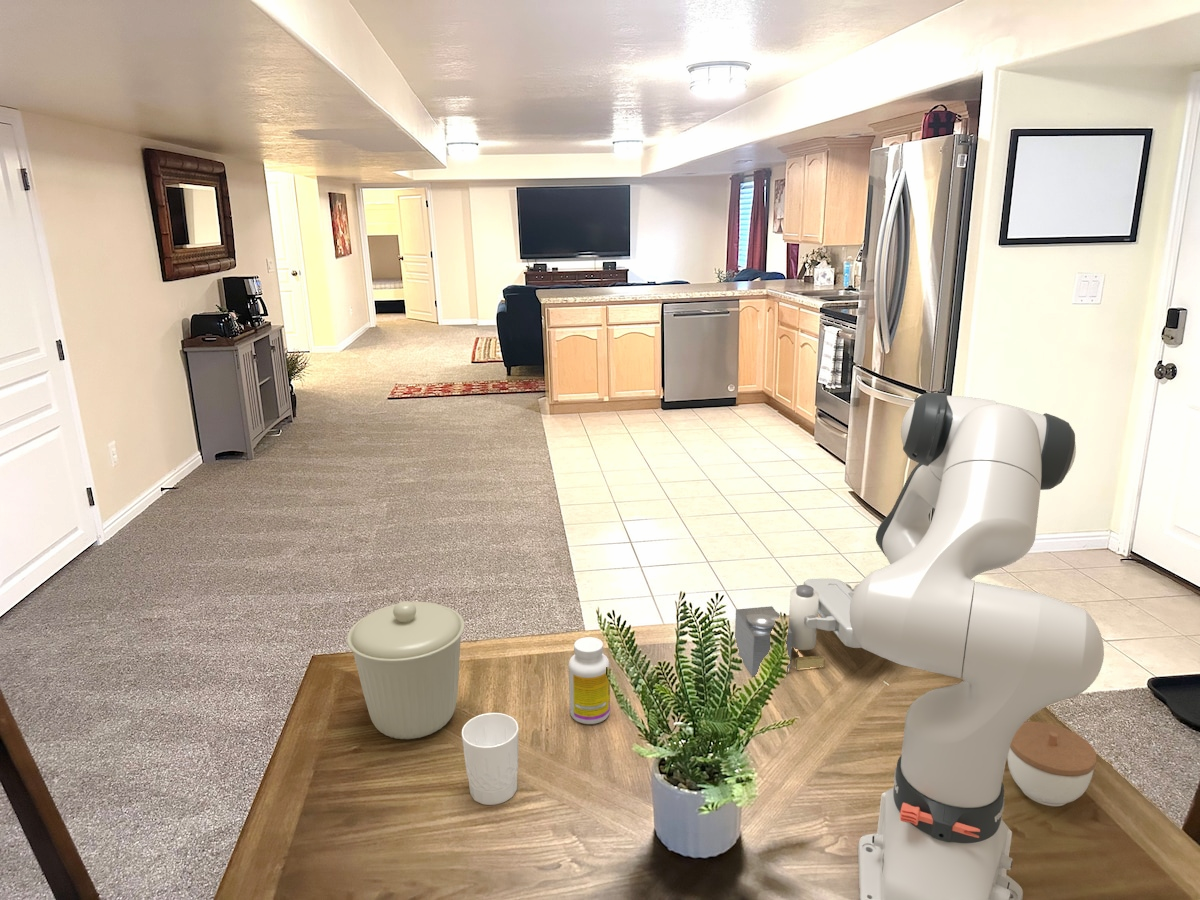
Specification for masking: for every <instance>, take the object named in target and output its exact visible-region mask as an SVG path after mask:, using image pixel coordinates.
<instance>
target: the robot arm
mask: <svg viewBox="0 0 1200 900" xmlns="http://www.w3.org/2000/svg"><path fill="white" fill-rule="evenodd" d="M900 437H901V443H902V451H903V452H904V453H905V455H906V456H907V458H908V459H910V460H912V461H913V462H915V463H917V465H915V467H914V468H913V469H912V470H911V472H910V473H909V476H908V477H907V479H906V481H905V483H904V485H903V486H902V489H901V492H900V493H899V495H898V497H897V499H896V501H895V503H894V504H893V508H891V510H890V512H889V513H888V515H886V517H885V518H884V519H883V520H882V521H881V523H880V524H879V527H878V529H876V533H875V542H876V544H877V546H878V548H879V549H880V550H881V552H882V553H883V555H884V557H886V559H887V561H888V562H889V565H887V566H883V567H880V568H879V569H875V570H873V571H872V572H870V573H869V574H867V576H865V577H864V578H863V579H862V580H861V581H860V583H857V584H855V586H853V588H852V586H851V585H850V584H847V583H845V582H843V581H842V580H841V579H836V578H808V579H806V580H804V581H803V584H802V585H808V586H811V587H812V588H813V589H814V590H815V591H817V592H818V593H819V603H818V615H819V617H815V616H814V615H812V616H805V618H804V624H805V625H806V627H807V628H808V629H812V628H817V629H818V630H823V631H826V632H831V631H832V632H833V633H834V634H835V636H836V637H837V638H838V639H839V640H840V641H841V643H843V645H844V646H846V647H849V648H853V649H858V648H862V649H863V650H865V651H868V652H870V653H872V654H874V655H876V656H878V657H880V658H883V659H885V660H888V661H890V662H893V663H895V664H898V665H900V666H904V667H908V668H912V669H917V670H922V671H927V672H932V673H935V674H939V675H943V676H948V677H951V678H957V679H961V680H962V681H961V682H958V683H955V684H953V685H947V686H942V687H938V688H934V689H930V690H929V691H926V692H925V693H923V694H921V696H918V698H916V699H915V700H914V701H913V702H912V703H911V704H910V705H909V707H908V709H907V711H906V714H905V719H904V729H903V730H904V731H903V739H902V750H901V754H900V756H899V757H898V758H897V759H898V760H897V762H896V766H895V770H894V774H893V787H891V788H890V789H888V790H885V791H884V792H882V793H881V796H880V803H879V805H880V806H879V811H878V812H879V814H878V822H877V830H876V833H869V834H864V835H862V836H861V837H860V838H859V842H858V846H857V849H858V850H857V852H858V853H857V855H858V856H857V857H858V882H859V884H858V885H859V886H858V887H859V888H860V894H859V900H1023V899H1024V898H1023V897H1024V895H1023V894H1024V891H1023V888H1022V886H1020V884H1019V883H1018V882H1017V881H1015V880H1014V879H1013V878H1012V877H1010V876H1009V875H1007V871H1011V869H1012V866H1013V857H1010V849H1011V843H1012V836H1013V831H1012V830H1011V829H1010V827H1009V826H1008V825H1007V824H1006V823H1005V821H1004V820H1003V818H1002V815H1003V813H1004V808H1005V801H1006V800H1005V786H1004V782H1003V779H1004V773H1005V769H1006V763H1007V761H1008V759H1007V756H1008V752H1009V749H1010V745H1011V743H1012V740H1013V738H1014V736H1015V734H1016V732H1017V731H1018V729H1019V728H1020V727H1021V726H1022V724H1023V723H1024V722H1027V721H1028V720H1029V719H1030V718H1031V717H1032V716H1034V715H1035V714H1036V713H1038V712H1039V711H1041V710H1043V709H1045V708H1047V707H1048V706H1051V705H1054V704H1055V703H1057V702H1061V701H1065V700H1069V699H1072V698H1075V697H1077V696H1079V695H1080V694H1082V693H1083V692H1085V691H1086V690H1087V689H1088V688H1089V687H1091V686H1092V684H1093V683H1094V682H1095V681H1096V679H1097V677H1098V676H1099V674H1100V672H1101V670H1102V666H1103V663H1104V657H1105V655H1104V654H1105V650H1104V649H1105V646H1104V642H1103V637H1102V634H1101V631H1100V628H1099V627H1098V625H1097V623H1096V622H1095V620H1094V619H1093V617H1092V616H1091V614H1089V613H1088V611H1087V610H1086V609H1085V608H1082V607H1079V606H1077V605H1075V604H1072V603H1069V602H1066V601H1064V600H1060V599H1058V598H1055V597H1052V596H1051V595H1046V594H1043V593H1041V592H1036V591H1029V590H1024V589H1018V588H1013V587H1008V586H1001V585H996V584H995V585H994V584H991V583H984V582H981V581H980V582H979V581H975V580H973V578H976V576H979V575H980V574H982V573H985V572H989V571H992V570H993V571H994V570H998V569H1000V568H1005V567H1007V566H1010V565H1011V564H1014V563H1016V562H1017V561H1019V560H1020V559H1022V558H1023V557H1024V556H1026V555H1027V553H1029V552H1030V550H1032V547H1033V546H1034V542H1035V541H1036V533H1037V526H1038V525H1037V524H1038V518H1039V517H1038V514H1039V507H1040V500H1041V499H1040V497H1041V491H1044V490H1045V491H1046V490H1047V491H1048V490H1052V489H1054V488H1055V487H1057V486H1058V485H1060V484H1061V483H1062V482H1063V481H1064V480H1065V478H1066V476H1067V475H1068V473H1069V472H1070V471H1071V469H1072V467H1073V465H1074V462H1075V458H1076V453H1077V446H1076V434H1075V430H1074V429H1073V427H1072V426H1071V425H1070V423H1069V422H1068V421H1066V420H1065V419H1062V418H1060V417H1058V416H1055V415H1052V414H1049V413H1046V412H1045V413H1044V414H1041V413H1038V412H1036V411H1032V410H1029V409H1025V408H1023V407H1022V408H1021V407H1018V406H1014V405H1010V404H1005V403H1001V402H997V401H996V400H993V399H986V398H977V397H971V396H970V397H969V396H960V395H947V392H927V393H922V394H921V395H920V396H918V397H916V398H915V399H914V402H913V403H912V404H911V405H910V406H909V408H908V409H907V411H906V412H905V414H904V416H903V419H902V422H901V428H900ZM932 509H934V512H933V515H932V519H931V521H930V519H929V517H930V515H929V514H930V513H931V511H932Z"/></svg>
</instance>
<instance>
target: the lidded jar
mask: <svg viewBox="0 0 1200 900" xmlns="http://www.w3.org/2000/svg"><path fill="white" fill-rule="evenodd" d="M1097 760H1098V756H1097V752H1096V750H1095V749H1094V747H1093V746H1092V745H1091V744H1090V743H1089V742H1088V740H1086V739H1085V738H1083V736H1080V735H1079V734H1078V733H1077V732H1074V731H1072V730H1071V729H1068V728H1065V727H1063V726H1059V725H1057V724H1053V723H1049V722H1042V721H1025V722H1024V723H1023V724H1022V726H1021V727H1020V728H1019V729H1018V731H1017V732H1016V734H1015V736H1014V738H1013V740H1012V743H1011V745H1010V749H1009V752H1008V756H1007V765H1008V770H1009V773H1010V775H1011V778H1012V779H1013V781H1014V782H1015V784H1016V785H1017V786H1018V787H1019V788H1020V790H1021V792H1022V793H1023V794H1024V796H1025V797H1027V798H1029V799H1030V800H1031V801H1034V802H1035V803H1038V804H1040V805H1043V806H1048V807H1062V806H1065V805H1066V804H1069V803H1071V802H1074V801H1076V800H1077V799H1079V798H1080V797H1082V796H1083V794H1084V793H1085V792H1086V791H1087V789H1088V788H1089V785H1090V784H1091V781H1092V778H1093V774H1094V772H1095V771H1094V770H1095V768H1096V765H1097Z"/></svg>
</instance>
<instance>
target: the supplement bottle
mask: <svg viewBox="0 0 1200 900" xmlns="http://www.w3.org/2000/svg"><path fill="white" fill-rule="evenodd" d="M573 652H574V654H573V655H572V656H571V657H570V659H569V661H568V687H569V688H568V689H569V693H568V694H569V697H568V699H569V713H570V716H571V718H572V719H574V721H576V722H578V723H580V724H584V725H595V724H598V723H601V722H604V720H606V719H607V718H608V717H609V716H610V713H611V683H609V681H608V679H607V676H606V667H609V668H610V661H609V658H608V656H607V655H605V654H604V643H603V641H602V640H601V639H599V638H597V637H591V636H586V637H585V636H584V637H581V638H579V639H577V640H576V641H575V642H574V644H573Z"/></svg>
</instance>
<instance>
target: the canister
mask: <svg viewBox="0 0 1200 900" xmlns="http://www.w3.org/2000/svg"><path fill="white" fill-rule="evenodd" d="M465 626H466V624H465V621H464V618H463V616H462V615H461V614H460V613H459V612H458V611H456V610H454V609H453V608H451V607H448V606H444V605H441V604H439V603H434V602H429V601H409V600H404V601H400V602H397V603H394V604H391V605H387V606H384V607H381V608H378V609H376V610H373V611H372V612H370V613H369V614H367V615H365V616H364V617H362V618H360V619H359V620H357V622H355V623H354V624H353V625H352V626H351V628H350V630H348V632H347V636H346V644H347V647H348V648H349V650H350V651H351V652H352V653H353V656H354V662H355V665H356V669H357V673H358V678H359V681H360V685H361V689H362V692H363V693H362V694H363V697H364V700H365V704H366V707H367V710H368V714H369V717H370V720H371V722H372V724H373V726H374V727H375V728H376V729H377V730H378V731H379V732H380V733H382V734H383V735H385V736H387V737H389V738H394V739H396V740H398V739H400V740H412V739H413V740H415V739H420V738H423V737H427V736H428V735H429V736H430V735H432V734H433V733H436V732H438V731H439V730H441V729H442V728H443V727H444V726H446V725H447V724H448V722H449V721H450V720H451V718H452V717H453V716H454V713H455V710H456V708H457V701H458V689H459V680H460V679H459V675H460V658H461V655H460V654H461V639H462V638H461V637H462V636H463V634H464V632H465V629H466V628H465Z"/></svg>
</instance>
